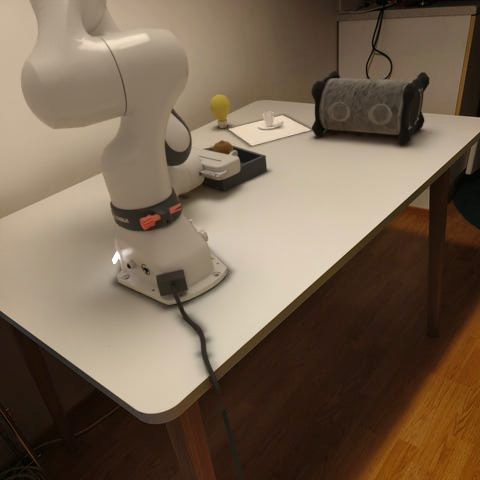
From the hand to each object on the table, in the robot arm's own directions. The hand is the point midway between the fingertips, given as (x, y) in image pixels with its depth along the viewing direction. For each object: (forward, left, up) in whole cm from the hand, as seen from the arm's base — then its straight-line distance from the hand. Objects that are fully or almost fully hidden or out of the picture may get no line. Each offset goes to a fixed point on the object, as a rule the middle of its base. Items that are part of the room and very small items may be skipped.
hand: (225, 150), depth 119 cm
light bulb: (+32, -23, -6) cm, 40 cm away
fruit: (0, +1, -5) cm, 5 cm away
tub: (0, +1, -6) cm, 6 cm away
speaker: (-13, -41, -6) cm, 44 cm away
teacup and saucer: (+16, -29, -6) cm, 34 cm away
